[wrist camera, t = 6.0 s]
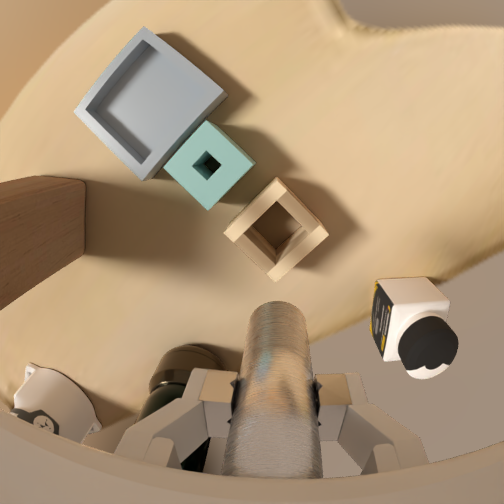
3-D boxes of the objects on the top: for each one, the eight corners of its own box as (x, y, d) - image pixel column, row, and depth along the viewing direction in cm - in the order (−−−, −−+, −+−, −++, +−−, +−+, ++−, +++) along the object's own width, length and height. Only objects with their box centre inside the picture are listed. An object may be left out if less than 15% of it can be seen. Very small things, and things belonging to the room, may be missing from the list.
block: (87, 255, 37) (-19, 330, 18) (35, 243, 37) (-67, 299, 18) (89, 179, 34) (-39, 215, 15) (34, 174, 34) (-82, 204, 15)
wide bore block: (275, 265, 36) (275, 282, 31) (230, 221, 34) (223, 233, 30) (321, 222, 34) (329, 234, 29) (276, 176, 32) (276, 180, 28)
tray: (152, 178, 33) (141, 181, 31) (87, 113, 31) (73, 112, 29) (228, 95, 30) (224, 90, 27) (153, 34, 28) (143, 26, 25)
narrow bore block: (217, 202, 34) (207, 210, 29) (178, 165, 33) (162, 167, 28) (256, 163, 32) (253, 164, 27) (216, 124, 31) (205, 120, 26)
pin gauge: (267, 358, 15) (248, 561, 5) (235, 316, 14) (180, 531, 4) (317, 334, 14) (346, 547, 4) (288, 289, 13) (295, 520, 4)
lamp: (162, 333, 40) (90, 463, 19) (233, 348, 39) (200, 496, 19) (163, 384, 43) (110, 504, 22) (225, 398, 42) (198, 529, 22)
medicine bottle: (374, 278, 35) (410, 331, 24) (426, 275, 35) (474, 323, 23) (368, 329, 37) (395, 392, 26) (417, 325, 37) (454, 381, 25)
